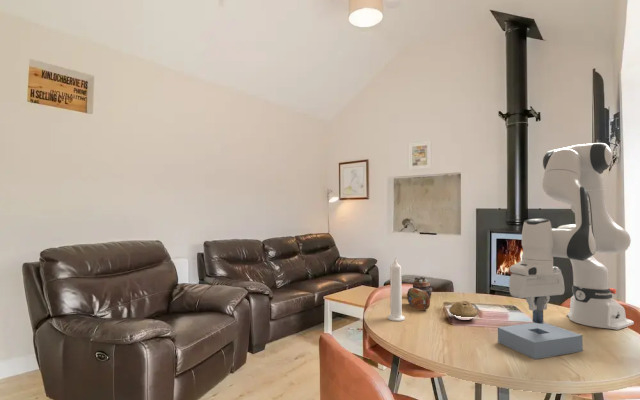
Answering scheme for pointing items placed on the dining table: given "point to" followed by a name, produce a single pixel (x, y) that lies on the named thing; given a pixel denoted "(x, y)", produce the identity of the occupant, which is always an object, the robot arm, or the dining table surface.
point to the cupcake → (422, 285)
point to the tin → (418, 299)
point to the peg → (538, 310)
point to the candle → (396, 292)
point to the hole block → (540, 340)
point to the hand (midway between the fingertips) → (537, 309)
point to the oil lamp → (463, 309)
